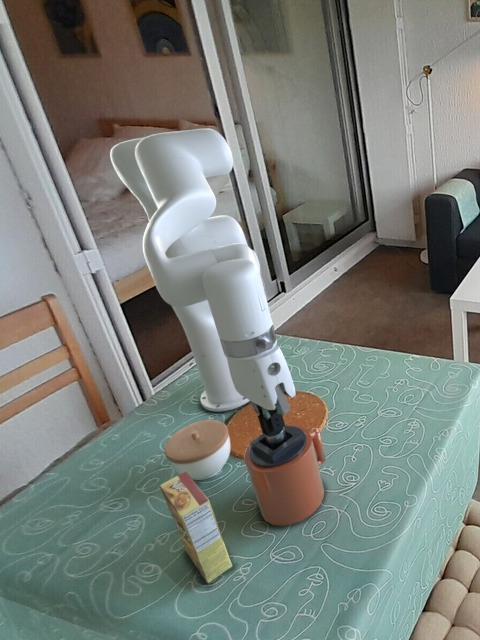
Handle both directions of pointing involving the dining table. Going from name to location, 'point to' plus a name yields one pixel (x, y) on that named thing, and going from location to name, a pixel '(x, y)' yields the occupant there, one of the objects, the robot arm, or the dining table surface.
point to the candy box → (196, 525)
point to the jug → (287, 475)
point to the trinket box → (199, 449)
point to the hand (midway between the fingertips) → (274, 430)
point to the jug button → (276, 439)
